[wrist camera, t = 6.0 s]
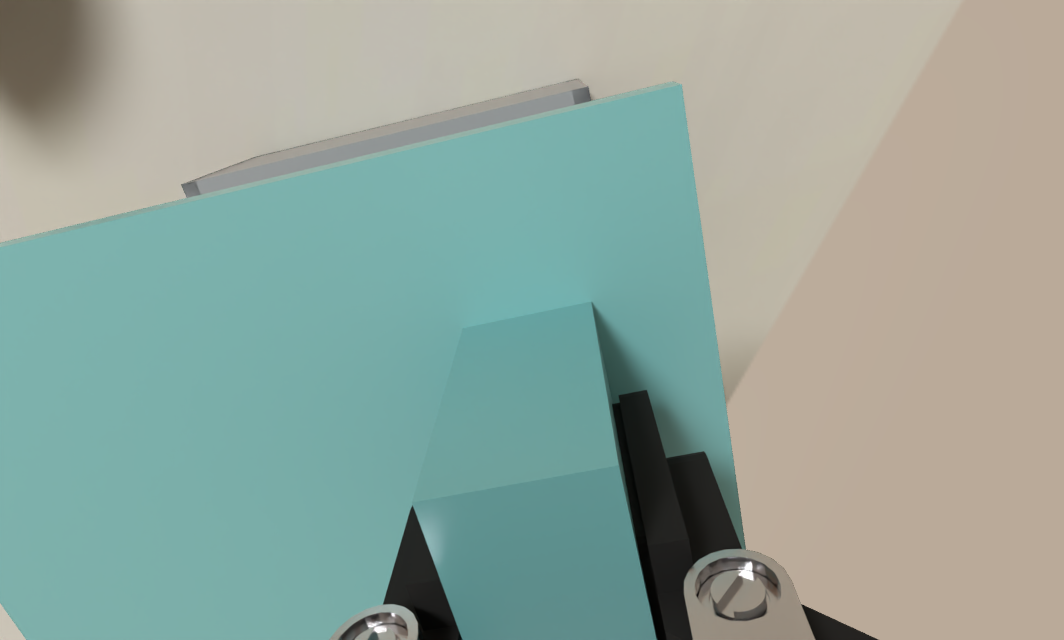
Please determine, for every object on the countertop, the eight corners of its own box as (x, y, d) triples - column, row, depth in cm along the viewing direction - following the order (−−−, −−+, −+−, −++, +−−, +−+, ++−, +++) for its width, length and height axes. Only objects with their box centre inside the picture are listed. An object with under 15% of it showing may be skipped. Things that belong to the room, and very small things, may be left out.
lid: (661, 77, 12) (786, 119, 6) (736, 586, 17) (852, 918, 11) (-116, 264, 14) (-674, 454, 8) (146, 679, 19) (-62, 1011, 12)
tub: (577, 78, 31) (588, 86, 24) (623, 314, 35) (642, 374, 29) (253, 157, 32) (181, 184, 26) (335, 374, 37) (291, 444, 30)
